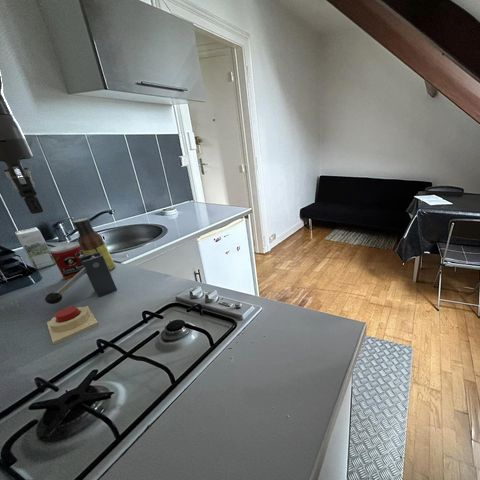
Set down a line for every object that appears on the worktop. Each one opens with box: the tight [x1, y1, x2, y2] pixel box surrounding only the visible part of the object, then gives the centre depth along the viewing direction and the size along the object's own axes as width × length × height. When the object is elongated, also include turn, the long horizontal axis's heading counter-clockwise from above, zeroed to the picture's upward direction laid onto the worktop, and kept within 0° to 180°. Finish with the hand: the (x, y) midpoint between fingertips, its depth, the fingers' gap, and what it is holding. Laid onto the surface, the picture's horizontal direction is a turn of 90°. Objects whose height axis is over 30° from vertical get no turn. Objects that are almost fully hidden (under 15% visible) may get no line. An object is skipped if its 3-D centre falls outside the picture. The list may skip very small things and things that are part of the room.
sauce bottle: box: [72, 217, 116, 272], centre depth 87 cm, size 6×6×20 cm
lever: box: [44, 255, 95, 305], centre depth 71 cm, size 15×3×3 cm
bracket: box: [79, 252, 118, 298], centre depth 75 cm, size 11×9×13 cm
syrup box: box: [14, 226, 57, 270], centre depth 97 cm, size 6×6×14 cm
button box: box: [46, 305, 100, 345], centre depth 63 cm, size 11×8×4 cm
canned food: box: [49, 241, 87, 281], centre depth 89 cm, size 8×8×11 cm
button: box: [54, 305, 80, 323], centre depth 62 cm, size 4×4×2 cm
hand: (37, 212), depth 65 cm, fingers closed
